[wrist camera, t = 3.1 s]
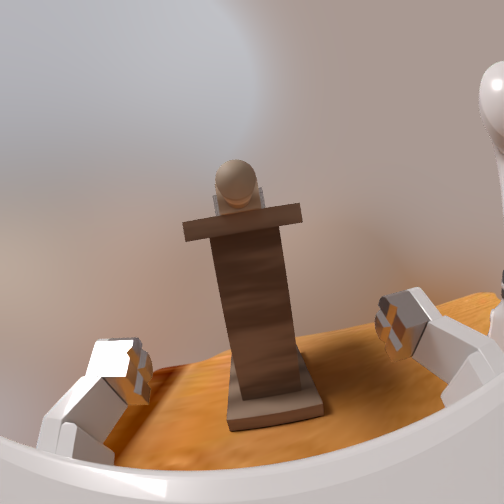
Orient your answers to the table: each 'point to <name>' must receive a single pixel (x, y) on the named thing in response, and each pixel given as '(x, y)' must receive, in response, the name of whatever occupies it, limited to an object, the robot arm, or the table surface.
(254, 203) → the ash rail
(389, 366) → the table surface
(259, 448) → the table surface
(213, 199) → the cup bracket
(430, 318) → the robot arm
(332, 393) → the table surface
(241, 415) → the walnut stand
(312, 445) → the table surface
